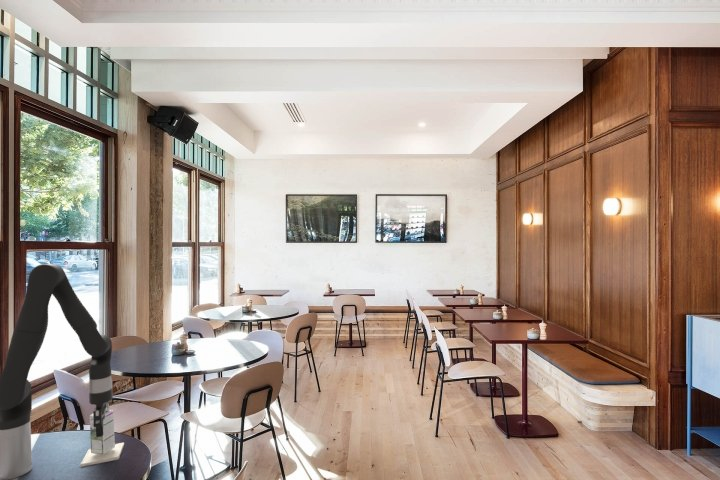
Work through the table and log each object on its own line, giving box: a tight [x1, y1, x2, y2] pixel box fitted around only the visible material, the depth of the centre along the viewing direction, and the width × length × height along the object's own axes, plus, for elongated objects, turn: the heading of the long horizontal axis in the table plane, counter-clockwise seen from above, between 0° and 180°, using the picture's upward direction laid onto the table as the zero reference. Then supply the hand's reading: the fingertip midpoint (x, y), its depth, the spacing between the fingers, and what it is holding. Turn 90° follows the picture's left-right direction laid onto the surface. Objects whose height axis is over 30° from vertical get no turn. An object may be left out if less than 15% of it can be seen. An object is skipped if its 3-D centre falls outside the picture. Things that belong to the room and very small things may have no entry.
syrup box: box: [89, 409, 116, 454], centre depth 155 cm, size 6×6×14 cm
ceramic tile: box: [80, 442, 125, 468], centre depth 155 cm, size 12×12×1 cm
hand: (102, 431), depth 155 cm, fingers closed on syrup box, 8 cm apart
